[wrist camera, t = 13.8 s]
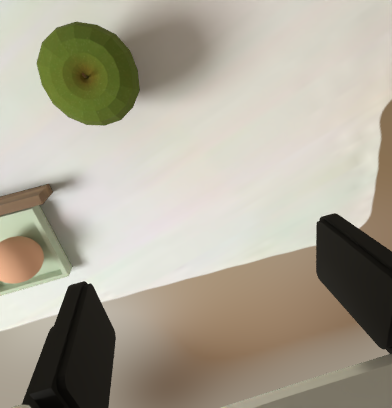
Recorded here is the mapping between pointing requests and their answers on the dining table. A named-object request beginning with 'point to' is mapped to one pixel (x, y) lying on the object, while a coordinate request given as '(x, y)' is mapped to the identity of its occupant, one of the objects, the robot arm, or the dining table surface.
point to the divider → (24, 199)
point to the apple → (88, 73)
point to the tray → (43, 234)
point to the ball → (19, 259)
